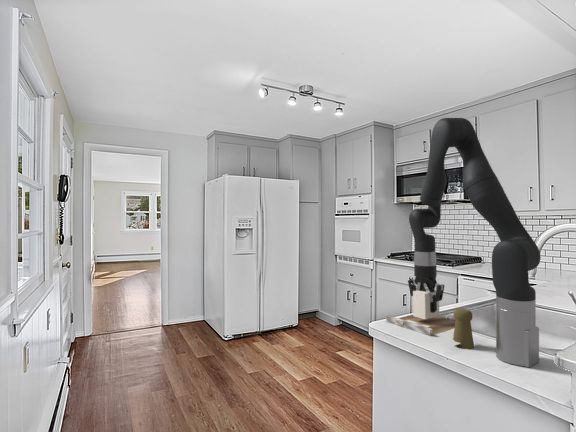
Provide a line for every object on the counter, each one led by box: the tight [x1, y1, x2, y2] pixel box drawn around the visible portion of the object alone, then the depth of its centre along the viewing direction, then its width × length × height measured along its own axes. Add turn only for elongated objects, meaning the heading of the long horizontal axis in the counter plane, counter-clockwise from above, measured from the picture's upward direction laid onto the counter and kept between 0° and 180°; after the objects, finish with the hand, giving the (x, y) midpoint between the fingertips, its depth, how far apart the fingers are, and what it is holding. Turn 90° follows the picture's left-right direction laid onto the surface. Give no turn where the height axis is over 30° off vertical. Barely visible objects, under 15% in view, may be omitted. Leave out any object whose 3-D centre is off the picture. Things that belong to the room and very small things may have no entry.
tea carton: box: [412, 289, 440, 319], centre depth 129 cm, size 8×5×9 cm, turn 122°
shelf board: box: [385, 314, 456, 337], centre depth 126 cm, size 18×20×4 cm
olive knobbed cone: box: [452, 308, 475, 350], centre depth 109 cm, size 6×6×11 cm
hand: (426, 310), depth 129 cm, fingers closed on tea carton, 5 cm apart
